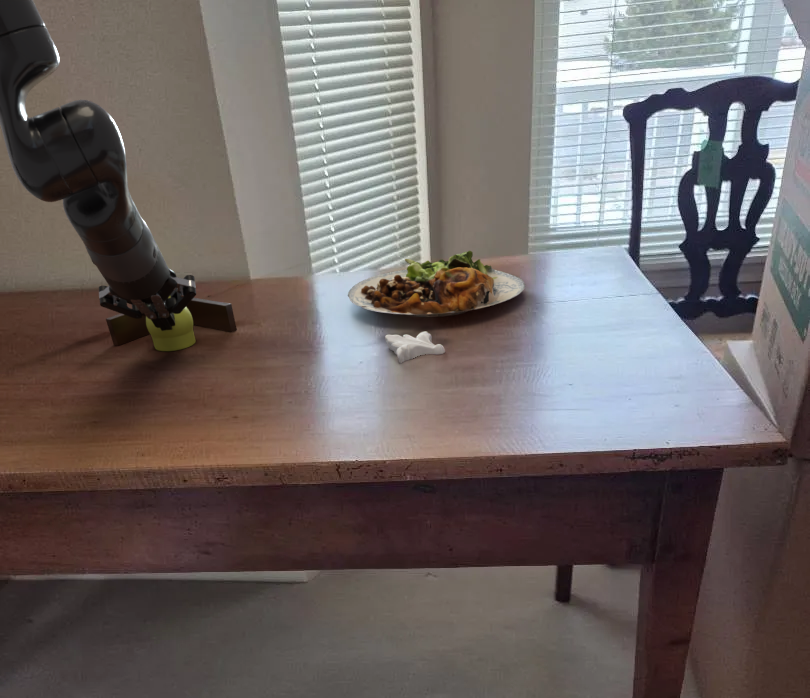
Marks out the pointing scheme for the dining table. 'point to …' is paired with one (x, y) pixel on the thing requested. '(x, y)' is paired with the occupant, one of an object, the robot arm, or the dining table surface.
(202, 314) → the corner fence
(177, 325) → the pear
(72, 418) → the dining table surface
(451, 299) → the plate of food
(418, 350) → the acanthus leaf ornament
